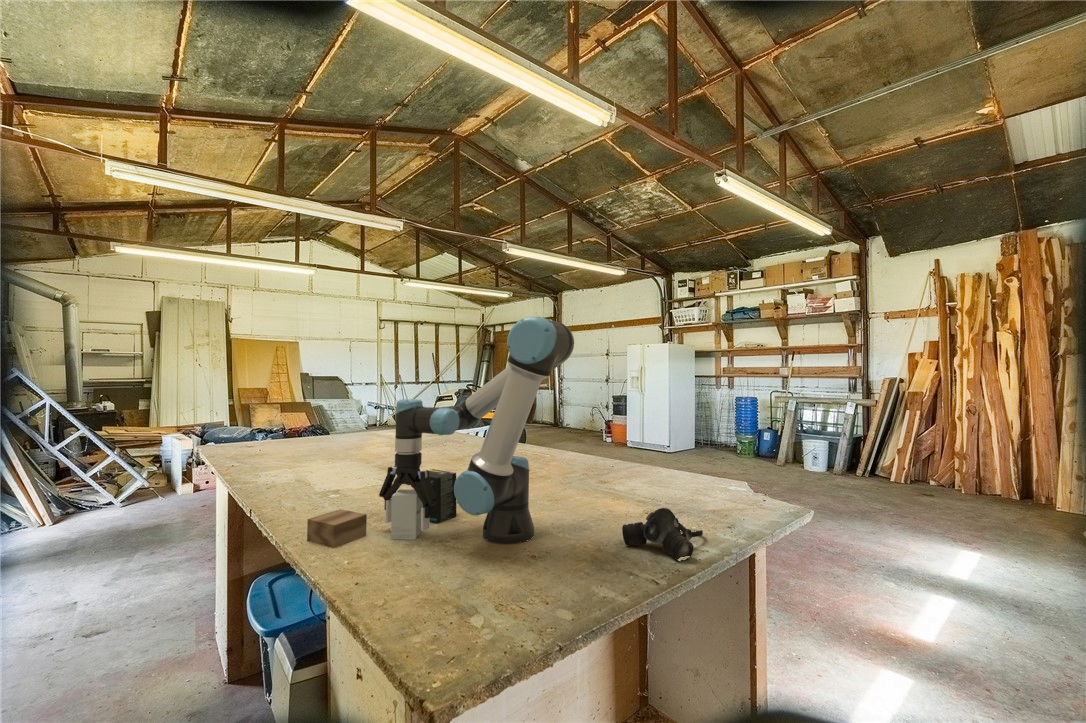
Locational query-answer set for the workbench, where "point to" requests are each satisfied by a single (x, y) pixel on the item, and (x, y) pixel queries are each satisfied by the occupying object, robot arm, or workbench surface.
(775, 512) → the workbench surface
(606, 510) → the workbench surface
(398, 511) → the supplement box
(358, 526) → the walnut block
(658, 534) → the respirator mask
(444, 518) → the tampon box
